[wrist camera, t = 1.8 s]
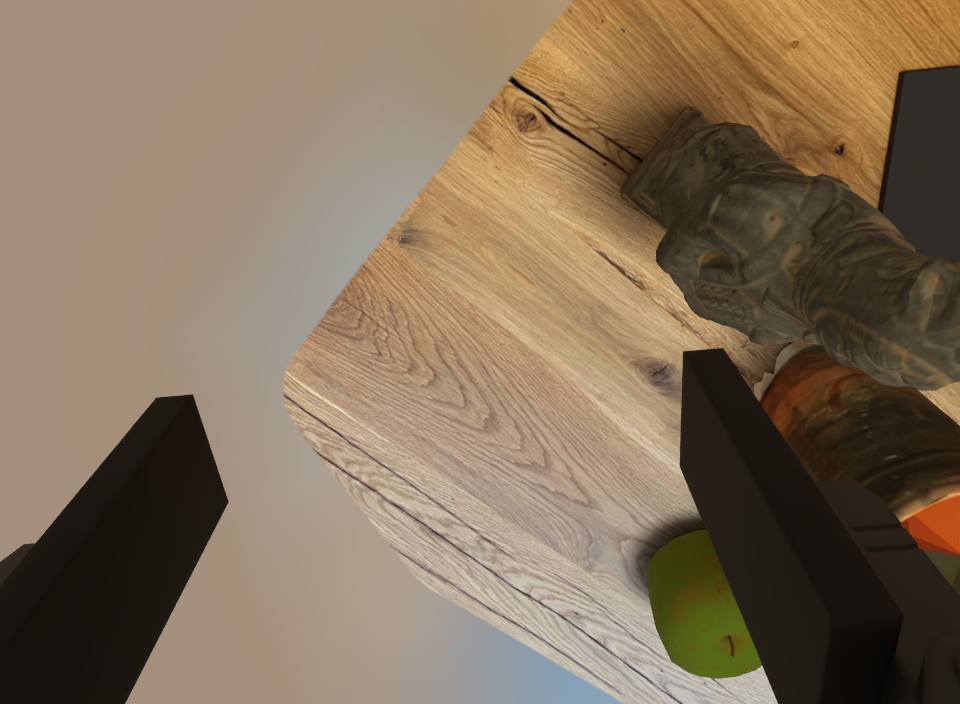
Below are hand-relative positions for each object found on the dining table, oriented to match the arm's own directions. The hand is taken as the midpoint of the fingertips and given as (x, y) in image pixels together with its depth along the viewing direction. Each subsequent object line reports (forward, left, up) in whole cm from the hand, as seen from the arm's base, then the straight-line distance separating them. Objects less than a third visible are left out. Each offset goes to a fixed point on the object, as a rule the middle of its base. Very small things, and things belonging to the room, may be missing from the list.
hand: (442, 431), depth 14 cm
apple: (+44, +2, -38) cm, 58 cm away
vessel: (+32, +16, -38) cm, 52 cm away
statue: (+10, +12, -38) cm, 41 cm away
